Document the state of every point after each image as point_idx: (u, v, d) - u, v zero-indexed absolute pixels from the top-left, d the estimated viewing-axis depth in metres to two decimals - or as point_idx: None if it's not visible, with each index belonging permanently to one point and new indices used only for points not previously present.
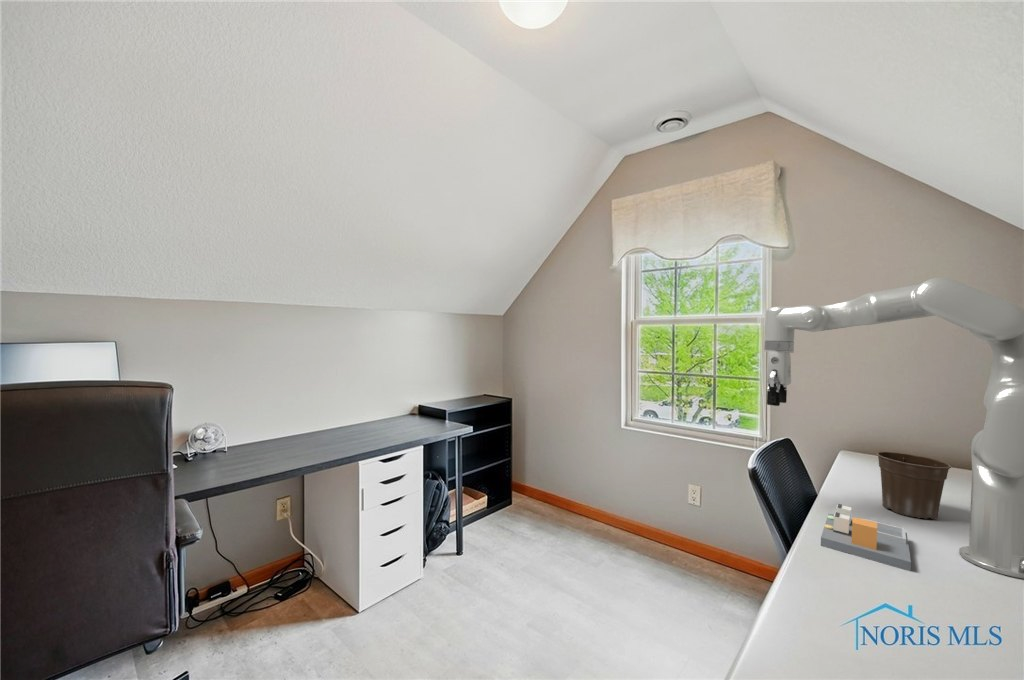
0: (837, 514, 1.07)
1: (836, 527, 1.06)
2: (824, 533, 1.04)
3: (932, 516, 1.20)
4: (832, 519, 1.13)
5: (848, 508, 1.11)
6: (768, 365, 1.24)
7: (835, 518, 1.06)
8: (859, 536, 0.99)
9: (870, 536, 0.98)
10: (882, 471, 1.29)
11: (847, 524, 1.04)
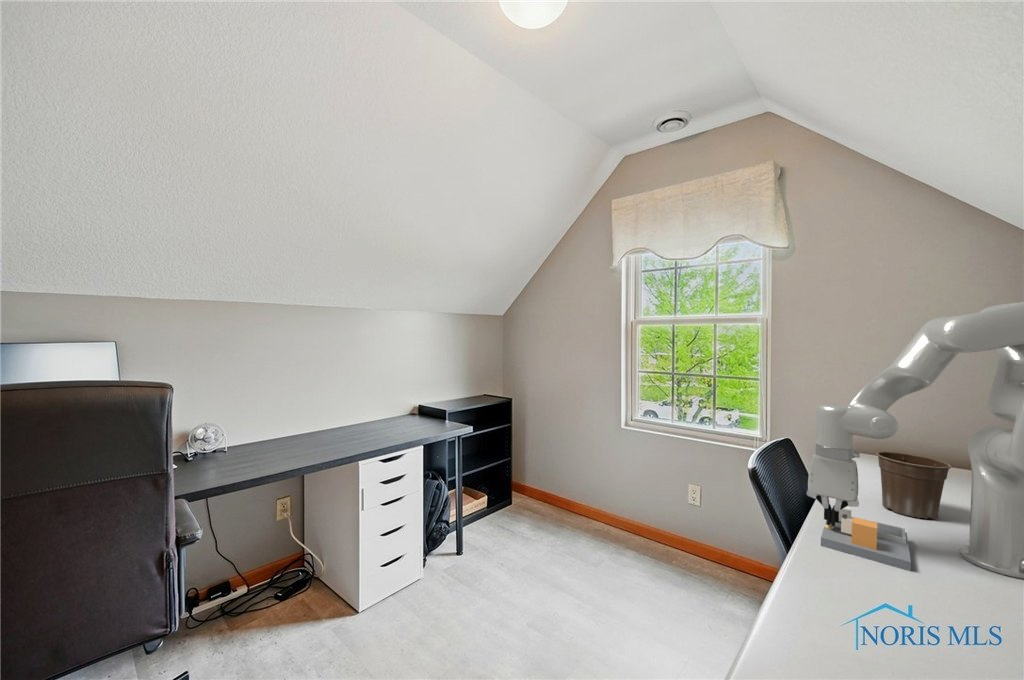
0: (844, 516, 1.06)
1: (843, 529, 1.05)
2: (824, 533, 1.04)
3: (932, 516, 1.20)
4: None
5: (848, 508, 1.11)
6: (856, 480, 1.03)
7: (843, 520, 1.05)
8: (859, 536, 0.99)
9: (870, 536, 0.98)
10: (882, 471, 1.29)
11: None
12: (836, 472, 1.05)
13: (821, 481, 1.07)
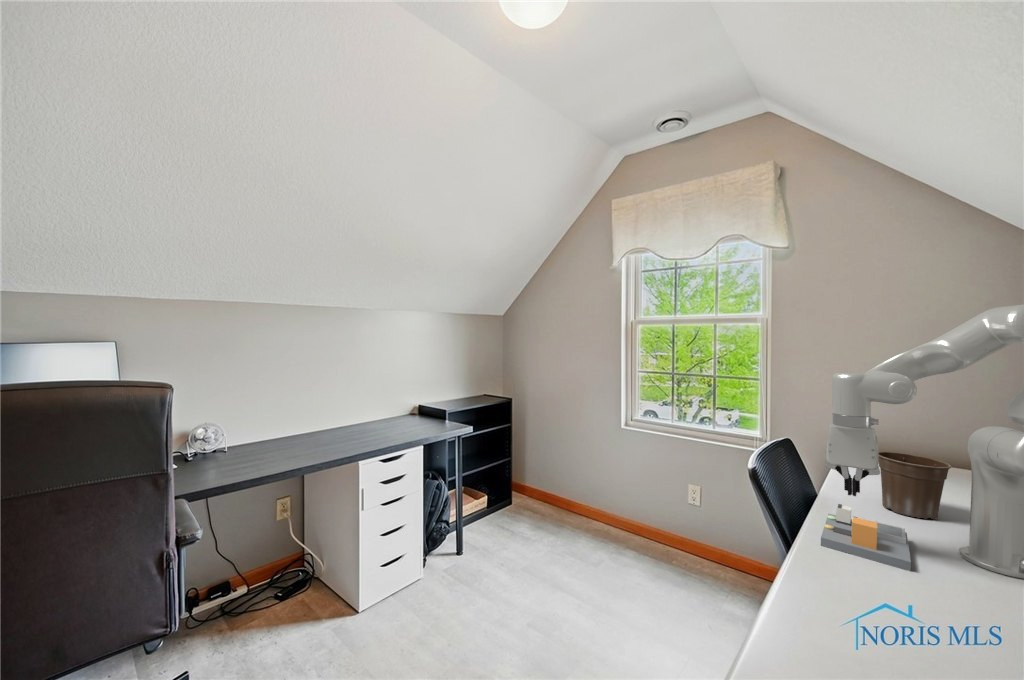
0: None
1: None
2: (824, 533, 1.04)
3: (932, 516, 1.20)
4: (832, 519, 1.13)
5: (848, 508, 1.11)
6: (876, 447, 1.01)
7: None
8: (859, 536, 0.99)
9: (870, 536, 0.98)
10: (882, 471, 1.29)
11: None
12: (855, 440, 1.03)
13: (840, 451, 1.05)
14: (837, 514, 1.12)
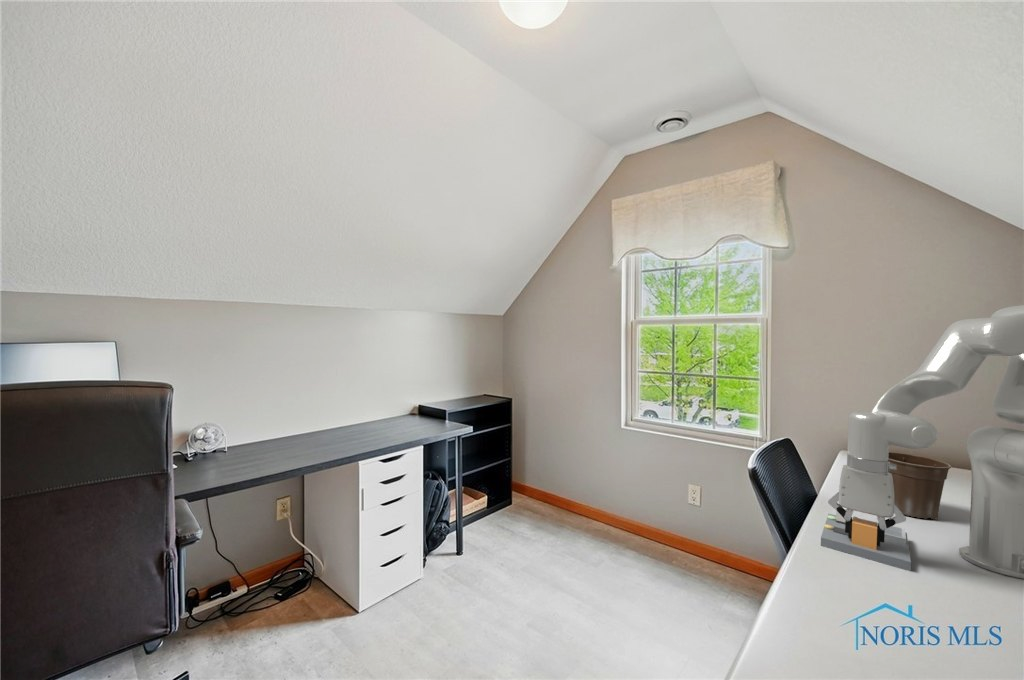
0: None
1: None
2: (824, 533, 1.04)
3: (932, 516, 1.20)
4: (832, 519, 1.13)
5: None
6: (892, 494, 0.96)
7: None
8: (859, 536, 0.99)
9: (870, 536, 0.98)
10: None
11: None
12: (870, 485, 0.98)
13: (854, 495, 1.00)
14: (837, 514, 1.12)
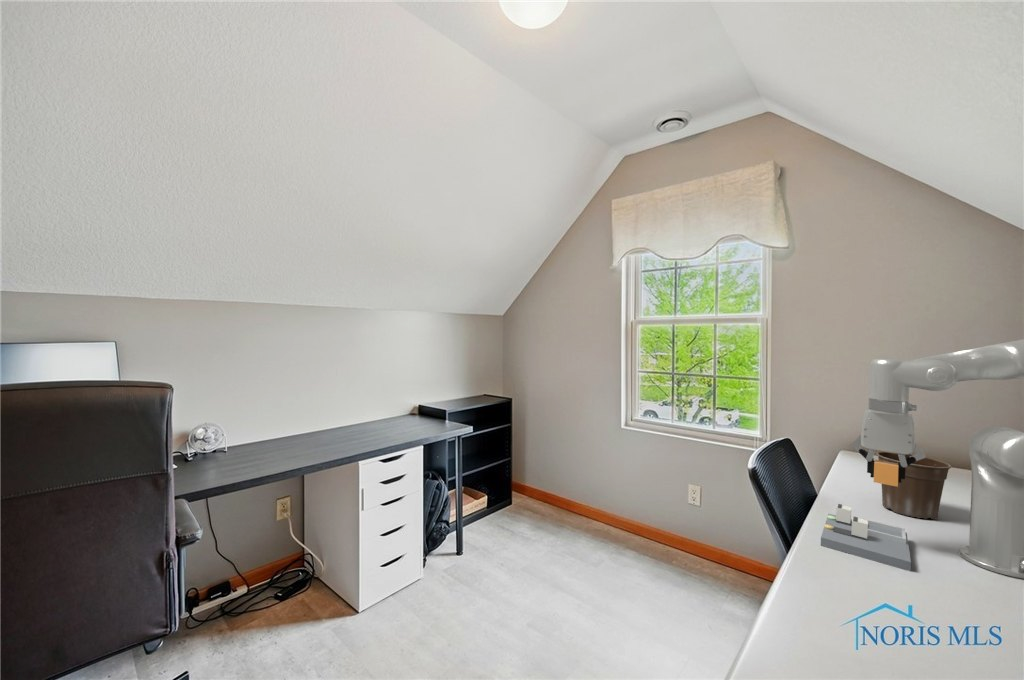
0: (855, 518, 1.04)
1: (854, 531, 1.03)
2: (824, 533, 1.04)
3: (932, 516, 1.20)
4: (832, 519, 1.13)
5: (848, 508, 1.11)
6: (913, 432, 1.02)
7: (853, 522, 1.03)
8: (881, 474, 1.05)
9: (892, 474, 1.03)
10: None
11: (866, 529, 1.02)
12: (892, 425, 1.04)
13: (876, 435, 1.06)
14: (837, 514, 1.12)
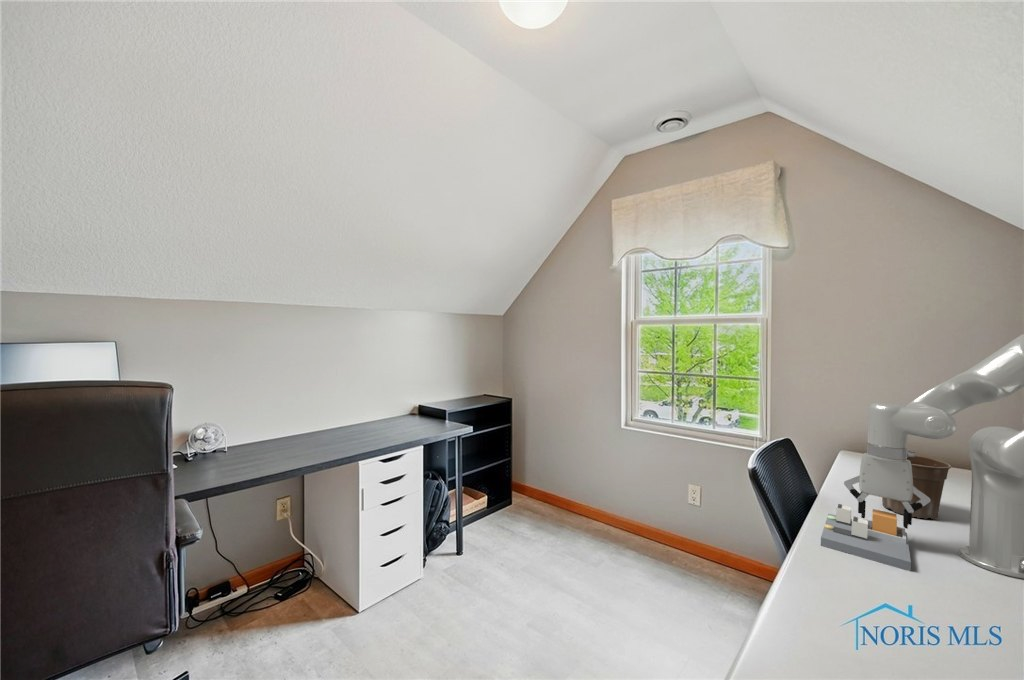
0: (855, 518, 1.04)
1: (854, 531, 1.03)
2: (824, 533, 1.04)
3: (932, 516, 1.20)
4: (832, 519, 1.13)
5: (848, 508, 1.11)
6: (911, 479, 1.02)
7: (853, 522, 1.03)
8: (879, 527, 1.05)
9: (890, 526, 1.03)
10: None
11: (866, 529, 1.02)
12: (890, 472, 1.04)
13: (874, 480, 1.06)
14: (837, 514, 1.12)
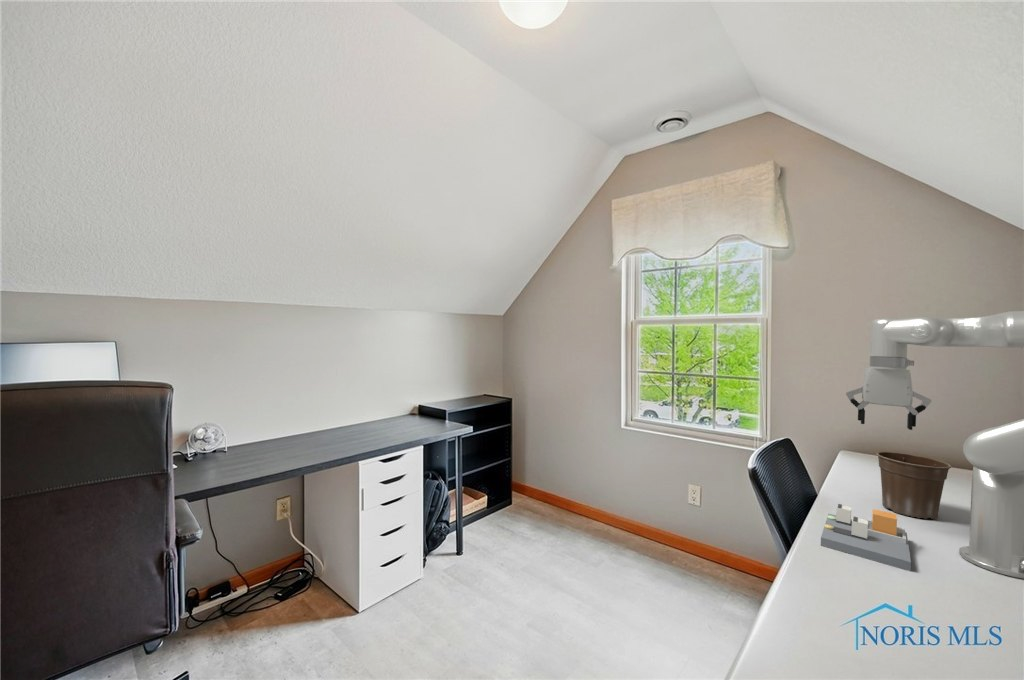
0: (855, 518, 1.04)
1: (854, 531, 1.03)
2: (824, 533, 1.04)
3: (932, 516, 1.20)
4: (832, 519, 1.13)
5: (848, 508, 1.11)
6: (911, 385, 1.10)
7: (853, 522, 1.03)
8: (879, 527, 1.05)
9: (890, 526, 1.03)
10: (882, 471, 1.29)
11: (866, 529, 1.02)
12: (892, 380, 1.11)
13: (877, 390, 1.13)
14: (837, 514, 1.12)
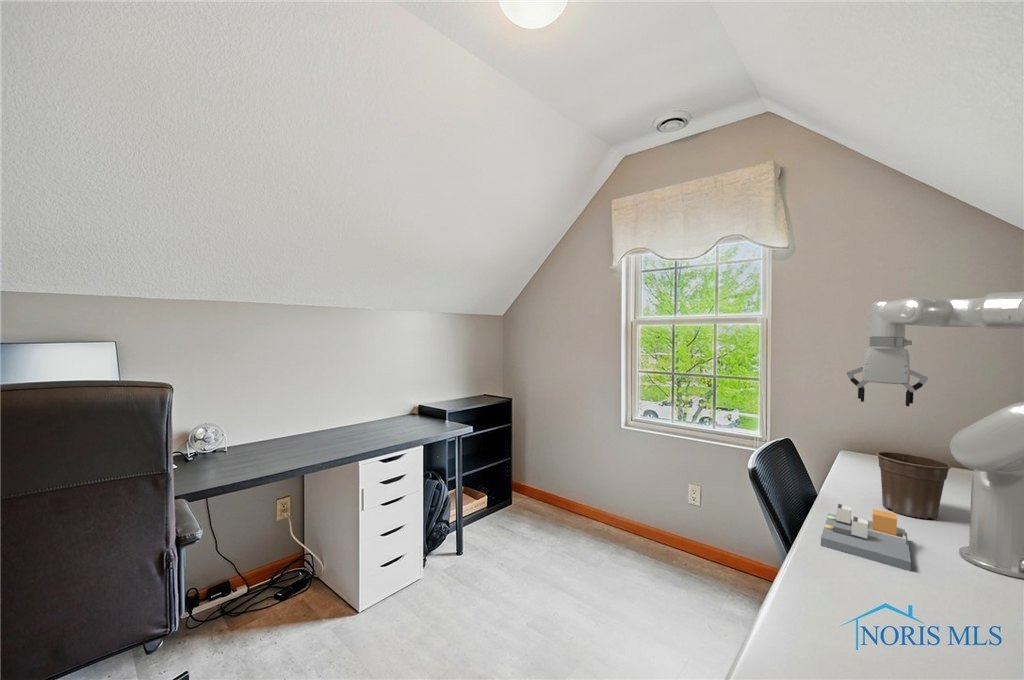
0: (855, 518, 1.04)
1: (854, 531, 1.03)
2: (824, 533, 1.04)
3: (932, 516, 1.20)
4: (832, 519, 1.13)
5: (848, 508, 1.11)
6: (908, 364, 1.15)
7: (853, 522, 1.03)
8: (879, 527, 1.05)
9: (890, 526, 1.03)
10: (882, 471, 1.29)
11: (866, 529, 1.02)
12: (890, 359, 1.17)
13: (875, 369, 1.19)
14: (837, 514, 1.12)
